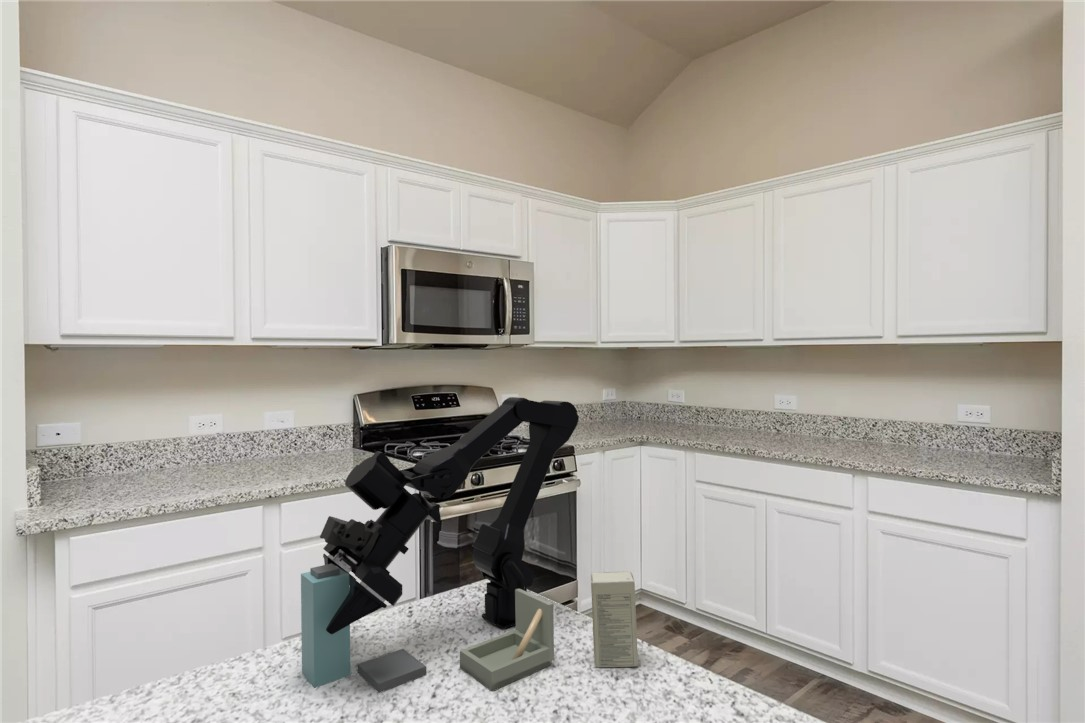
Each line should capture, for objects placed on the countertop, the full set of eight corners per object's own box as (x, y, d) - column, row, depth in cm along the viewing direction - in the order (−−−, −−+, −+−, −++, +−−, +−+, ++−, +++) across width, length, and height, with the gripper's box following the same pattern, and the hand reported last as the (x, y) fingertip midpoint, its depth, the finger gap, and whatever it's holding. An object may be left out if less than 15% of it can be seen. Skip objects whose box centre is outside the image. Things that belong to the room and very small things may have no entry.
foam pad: (403, 656, 88) (403, 648, 88) (426, 674, 83) (426, 666, 83) (357, 672, 84) (357, 664, 84) (378, 693, 78) (378, 683, 78)
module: (337, 662, 87) (335, 560, 87) (350, 675, 83) (349, 568, 83) (301, 673, 84) (300, 568, 84) (314, 687, 80) (313, 577, 80)
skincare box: (634, 653, 88) (633, 570, 88) (638, 668, 84) (637, 581, 84) (591, 653, 88) (590, 570, 88) (593, 668, 84) (591, 581, 84)
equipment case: (520, 644, 91) (519, 588, 92) (554, 663, 85) (553, 603, 85) (459, 668, 85) (459, 607, 85) (492, 691, 78) (491, 625, 79)
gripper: (336, 485, 94) (260, 570, 87) (379, 506, 79) (291, 611, 72) (385, 527, 98) (316, 611, 92) (434, 555, 83) (356, 657, 77)
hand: (318, 620), depth 83 cm, fingers open, 9 cm apart
